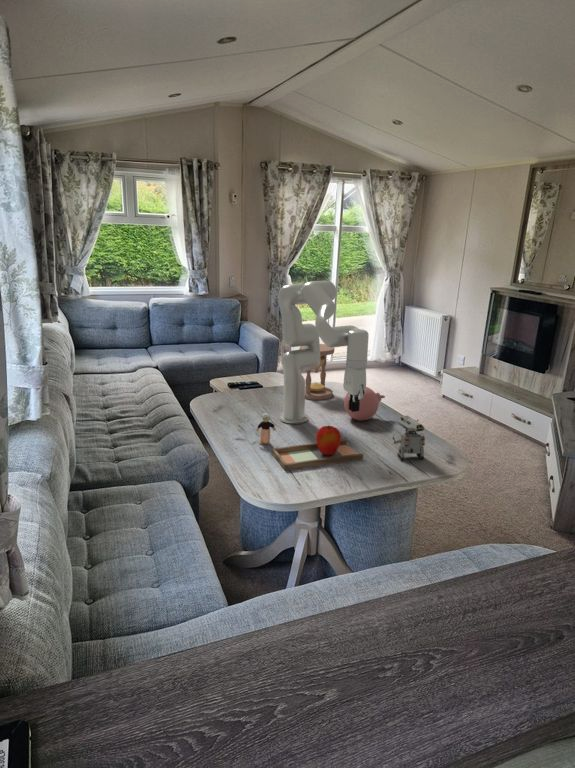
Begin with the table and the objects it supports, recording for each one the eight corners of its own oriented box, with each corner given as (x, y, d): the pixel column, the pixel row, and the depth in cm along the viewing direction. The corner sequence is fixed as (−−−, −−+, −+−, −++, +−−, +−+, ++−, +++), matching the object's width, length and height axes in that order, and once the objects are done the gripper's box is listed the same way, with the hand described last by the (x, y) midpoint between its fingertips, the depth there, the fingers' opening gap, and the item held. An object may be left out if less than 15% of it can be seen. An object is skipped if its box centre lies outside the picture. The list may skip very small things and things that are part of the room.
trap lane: (271, 453, 202) (271, 448, 201) (345, 444, 212) (345, 439, 211) (284, 470, 188) (284, 465, 188) (362, 459, 199) (363, 454, 198)
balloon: (392, 422, 237) (395, 389, 232) (352, 427, 230) (354, 393, 225) (375, 411, 250) (377, 379, 246) (337, 415, 244) (339, 383, 239)
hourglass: (316, 387, 284) (317, 342, 277) (339, 395, 272) (341, 348, 264) (291, 393, 273) (292, 346, 266) (314, 402, 261) (316, 353, 253)
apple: (313, 457, 199) (314, 427, 195) (318, 448, 207) (319, 419, 204) (337, 461, 196) (338, 431, 193) (342, 451, 205) (343, 422, 201)
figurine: (413, 449, 208) (416, 413, 204) (425, 461, 198) (429, 424, 193) (391, 450, 207) (394, 414, 203) (402, 463, 196) (405, 425, 192)
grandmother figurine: (257, 445, 209) (257, 415, 205) (255, 442, 212) (255, 412, 209) (276, 444, 211) (276, 414, 207) (274, 440, 214) (274, 410, 211)
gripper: (338, 359, 200) (336, 404, 206) (356, 369, 187) (354, 418, 192) (356, 357, 203) (353, 403, 208) (375, 367, 189) (372, 416, 194)
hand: (353, 410), depth 200 cm, fingers closed
